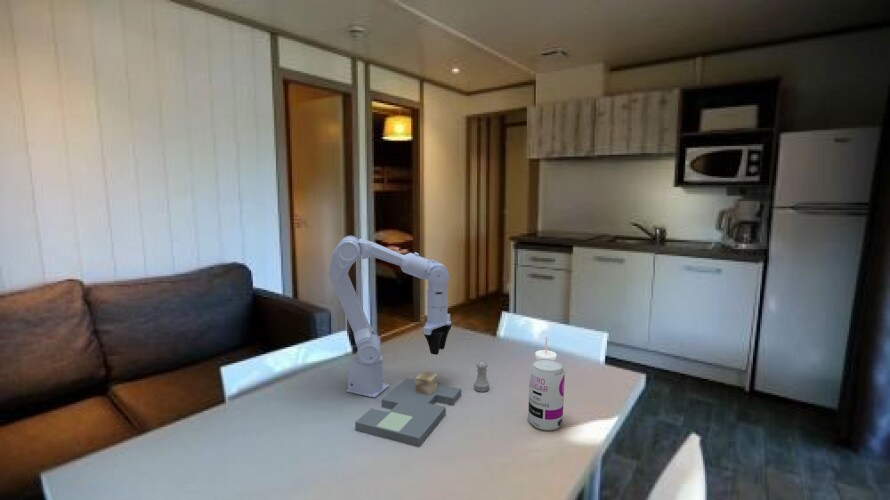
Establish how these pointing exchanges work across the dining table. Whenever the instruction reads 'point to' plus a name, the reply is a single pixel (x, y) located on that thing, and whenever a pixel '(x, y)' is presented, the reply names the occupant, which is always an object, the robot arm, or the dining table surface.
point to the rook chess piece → (481, 377)
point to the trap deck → (408, 413)
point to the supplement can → (546, 394)
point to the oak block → (426, 383)
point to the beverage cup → (545, 353)
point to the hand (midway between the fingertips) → (437, 351)
